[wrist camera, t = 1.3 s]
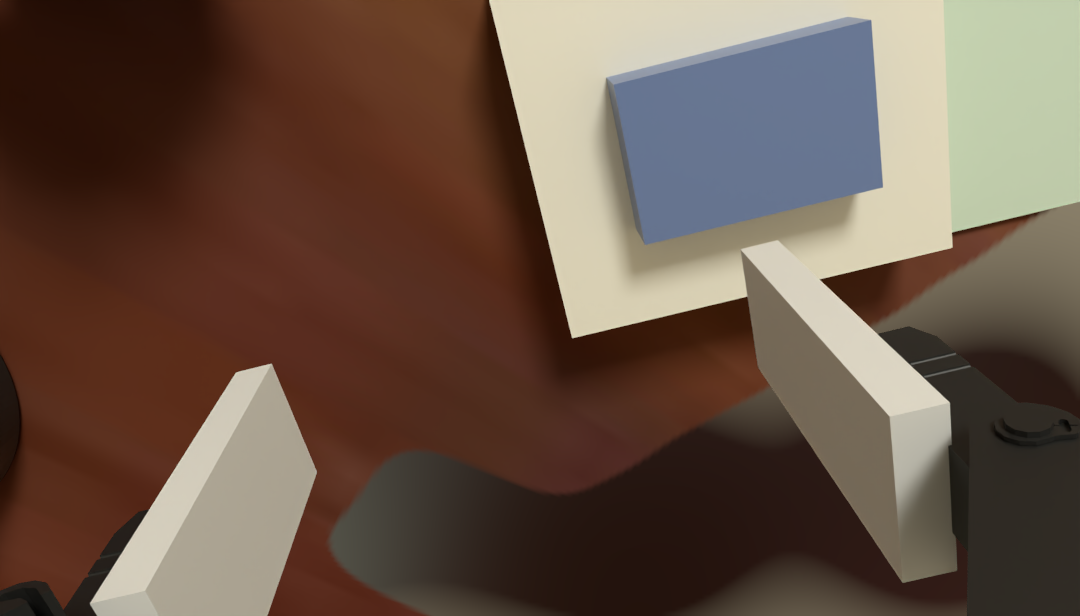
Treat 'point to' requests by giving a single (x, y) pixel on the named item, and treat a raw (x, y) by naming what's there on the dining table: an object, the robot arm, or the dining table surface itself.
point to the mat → (1012, 107)
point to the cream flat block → (714, 255)
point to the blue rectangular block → (749, 129)
